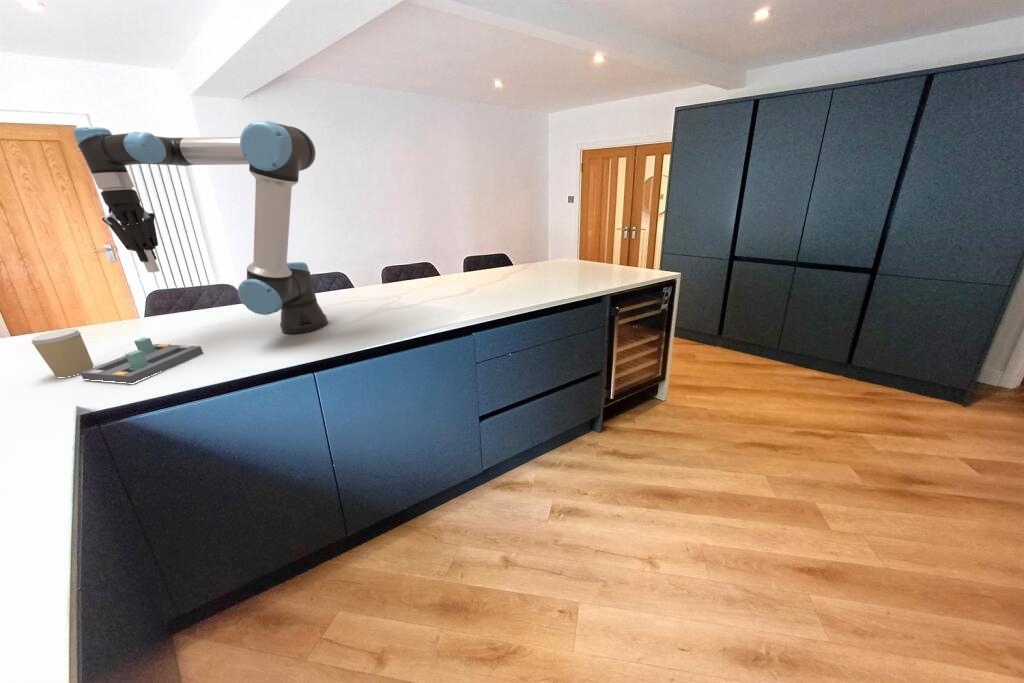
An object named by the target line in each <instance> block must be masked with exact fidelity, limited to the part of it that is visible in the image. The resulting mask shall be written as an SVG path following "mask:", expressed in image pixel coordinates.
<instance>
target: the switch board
mask: <svg viewBox="0 0 1024 683" xmlns="http://www.w3.org/2000/svg"><path fill="white" fill-rule="evenodd" d="M153 346H154V348H155V350H157V351H155V352H152V353H150V354H147V355H145V357H146V360H147V362H148V363H152V364H150V365H147V366H145V367H143V368H140V369H138V370H135V371H133V372H131V373H130V371H129V369H130V368H131V366H130V364H129V362H128V360H127V357H126V355H123V356H120V357H118V358H115V359H113V360H110V361H107V362H105V363H102V364H100V365H97V366H94V368H91V369H89V370H86V371H84V372H81V373H80V374H81V375H80V376H81V378H82V379H83V380H84V379H89V380H103V381H115V382H126V383H134V382H136V381H138V380H141V379H143V378H145V377H148V376H151V375H153V374H155V373H158V372H160V371H163V370H165V371H167V370H166V369H168V368H170V369H172V368H174V367H176V365H177V366H179V365H180V364H183V363H186V362H187V361H190V360H191V359H193V358H197V357H198V356H202V355H203V354H204V352H203V349H202V347H201V345H192V344H191V345H190V344H189V345H188V344H187V345H186V344H184V345H183V344H182V345H181V344H168V343H161V344H160V343H155V344H153ZM178 364H179V365H178ZM173 366H174V367H173ZM171 367H172V368H171ZM168 370H169V369H168ZM163 372H164V371H163Z"/></svg>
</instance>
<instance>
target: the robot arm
mask: <svg viewBox="0 0 1024 683" xmlns="http://www.w3.org/2000/svg"><path fill="white" fill-rule="evenodd" d="M73 134H74V138H75V140H76V144H77V147H78V148H79V150H80V152H81V154H82V155H83V158H84V160H85V163H86V164H87V166H88V168H89V171H90V173H91V175H92V177H93V179H94V181H95V184H96V186H97V189H99V190H102V191H100V195H101V197H102V200H103V201H104V204H105V205H106V206H107V207H108V213H109V214H108V215H106V217H102V218H101V220H102V221H103V222H104V223H105V225H107V226H108V227H110V228H111V230H112V231H113V233H114V234H115V235H116V237H117V238H118V239H119V241H120V242H121V244H122V245H123V246H124V248H126V250H128V251H133V252H136V255H137V256H138V259H139V261H140V262H141V263H143V264H144V267H145V269H146V271H147V273H157V272H160V269H159V265H158V263H157V261H156V260H157V256H156V254H155V251H154V250H155V249H156V247H158V246H159V242H158V236H157V232H156V230H157V229H156V226H155V225H156V224H155V217H156V214H155V212H154V213H153V212H151V213H150V212H148V211H146V210H145V208H143V207H142V205H141V199H140V198H139V195H138V193H137V190H135V189H133V188H134V187H135V185H134V183H133V181H132V178H131V175H130V174H129V171H128V170H127V166H131V165H159V166H160V165H161V166H162V165H163V166H168V165H169V166H180V167H185V166H186V167H188V166H211V165H213V166H215V165H216V166H222V165H225V166H227V165H228V166H230V165H233V166H234V165H237V166H238V165H249V166H248V167H249V168H248V170H249V173H250V174H251V175H252V176H253V177H254V179H255V192H254V193H255V196H254V197H255V198H254V200H255V201H254V226H253V227H254V228H253V230H254V231H253V232H254V233H253V235H254V236H253V259H252V260H253V261H252V262H251V263H249V264H248V265H247V266H246V267H247V268H246V279H244V280H242V282H241V283H240V284H239V285H238V288H237V295H238V298H239V300H240V302H241V303H242V305H244V306H245V308H247V309H248V310H249V311H251V312H252V313H254V314H257V315H262V316H268V315H271V314H272V315H273V314H275V313H278V312H279V311H280V323H279V326H280V330H281V332H282V333H283V334H288V335H289V334H290V335H295V334H304V333H309V332H312V331H313V332H314V331H316V330H319V329H321V328H323V327H325V326H326V325H327V324H328V317H327V315H326V314H325V313H324V312H323V310H322V308H321V306H320V304H319V303H318V300H317V296H316V291H315V289H314V284H313V280H312V276H311V271H310V270H309V265H307V263H306V262H302V261H300V262H296V261H295V262H288V250H289V235H290V234H289V233H290V232H289V231H290V220H291V219H290V218H291V217H290V216H291V206H292V205H291V204H292V203H291V202H292V190H293V188H292V187H294V186H295V185H297V183H299V175H300V172H301V171H305V170H307V169H309V168H310V167H311V166H312V165H313V164H314V161H315V159H316V148H315V144H314V142H313V141H312V140H311V138H310V136H309V135H308V134H307V133H306V132H304V131H303V130H301V129H300V128H297V127H295V126H289V125H286V124H283V123H282V124H281V123H278V122H277V123H276V122H275V121H270V120H256V121H253V122H251V123H249V124H247V125H246V126H245V127H244V128H243V130H242V132H241V135H240V136H219V137H217V136H211V137H209V136H207V137H205V136H204V137H202V136H201V137H200V136H199V137H198V136H197V137H167V136H164V137H163V136H157V135H154V134H152V133H151V132H146V131H143V132H141V131H133V132H128V133H118V134H117V133H116V134H112V132H111V130H109V129H108V128H105V127H100V126H99V127H97V126H95V127H94V126H85V127H84V126H80V127H76V128H74V129H73Z"/></svg>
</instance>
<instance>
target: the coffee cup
mask: <svg viewBox="0 0 1024 683" xmlns="http://www.w3.org/2000/svg"><path fill="white" fill-rule="evenodd" d="M31 344H32V345H33V347H34V348H35V349H36V350H37V352H38V354H39V355H40V356H41V358H42V359H43V360H44V362H45V363H46V364H47V366H48V368H49V369H50V370H51V372H52V373H53V375H54V376H55V377H56V378H57V377H68V376H73V375H77V374H80V373H81V372H84V371H86V370H89V369H91V368H93V367H95V365H94V363H93V361H92V358H91V356H90V353H89V351H88V348H87V347H86V344H85V342H84V338H83V336H82V333H81V331H80V330H78V329H77V328H66V329H60V330H53V331H50V332H46V333H42V334H40V335H37V336H35V337H32V338H31Z"/></svg>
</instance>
